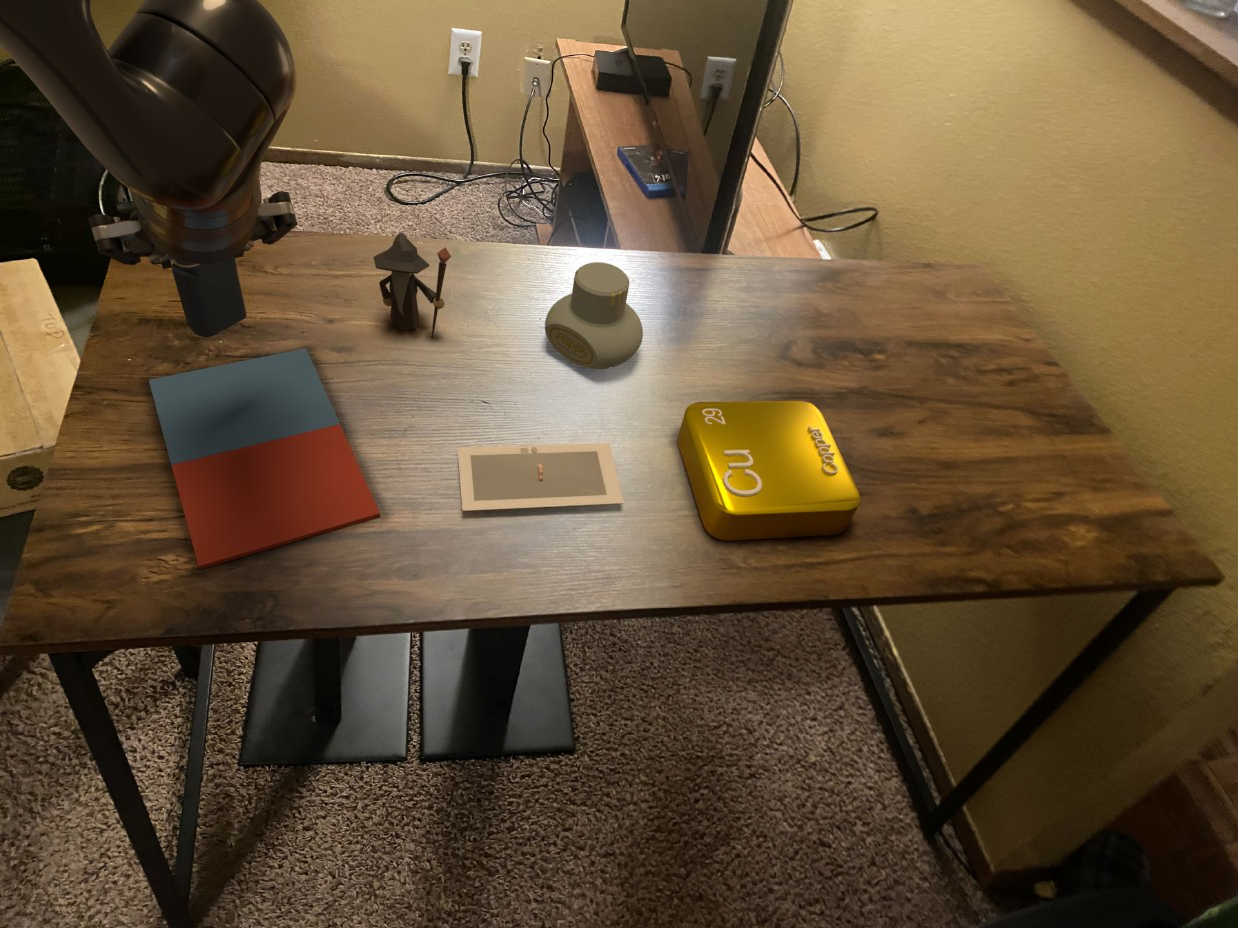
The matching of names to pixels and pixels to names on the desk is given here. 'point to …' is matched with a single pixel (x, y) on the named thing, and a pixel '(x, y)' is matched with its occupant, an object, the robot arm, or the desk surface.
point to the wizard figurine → (408, 283)
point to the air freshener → (595, 319)
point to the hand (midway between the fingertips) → (199, 250)
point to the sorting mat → (258, 456)
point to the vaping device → (209, 295)
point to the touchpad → (537, 476)
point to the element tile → (766, 470)
